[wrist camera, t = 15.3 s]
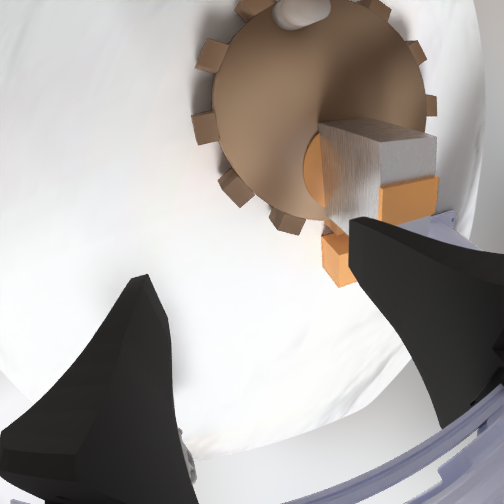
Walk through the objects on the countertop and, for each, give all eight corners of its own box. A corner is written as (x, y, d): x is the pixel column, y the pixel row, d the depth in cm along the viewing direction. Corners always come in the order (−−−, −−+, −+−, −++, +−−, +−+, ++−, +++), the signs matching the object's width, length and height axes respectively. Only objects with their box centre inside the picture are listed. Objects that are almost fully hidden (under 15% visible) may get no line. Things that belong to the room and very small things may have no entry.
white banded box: (370, 202, 19) (429, 246, 14) (324, 214, 19) (378, 265, 14) (368, 117, 16) (440, 138, 11) (317, 122, 16) (382, 143, 10)
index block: (343, 260, 25) (360, 280, 22) (322, 266, 25) (338, 287, 22) (343, 230, 23) (362, 248, 21) (321, 236, 23) (339, 255, 20)
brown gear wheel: (445, 103, 19) (489, 115, 15) (334, 258, 24) (365, 294, 20) (298, -51, 11) (332, -80, 7) (137, 143, 16) (123, 160, 12)
